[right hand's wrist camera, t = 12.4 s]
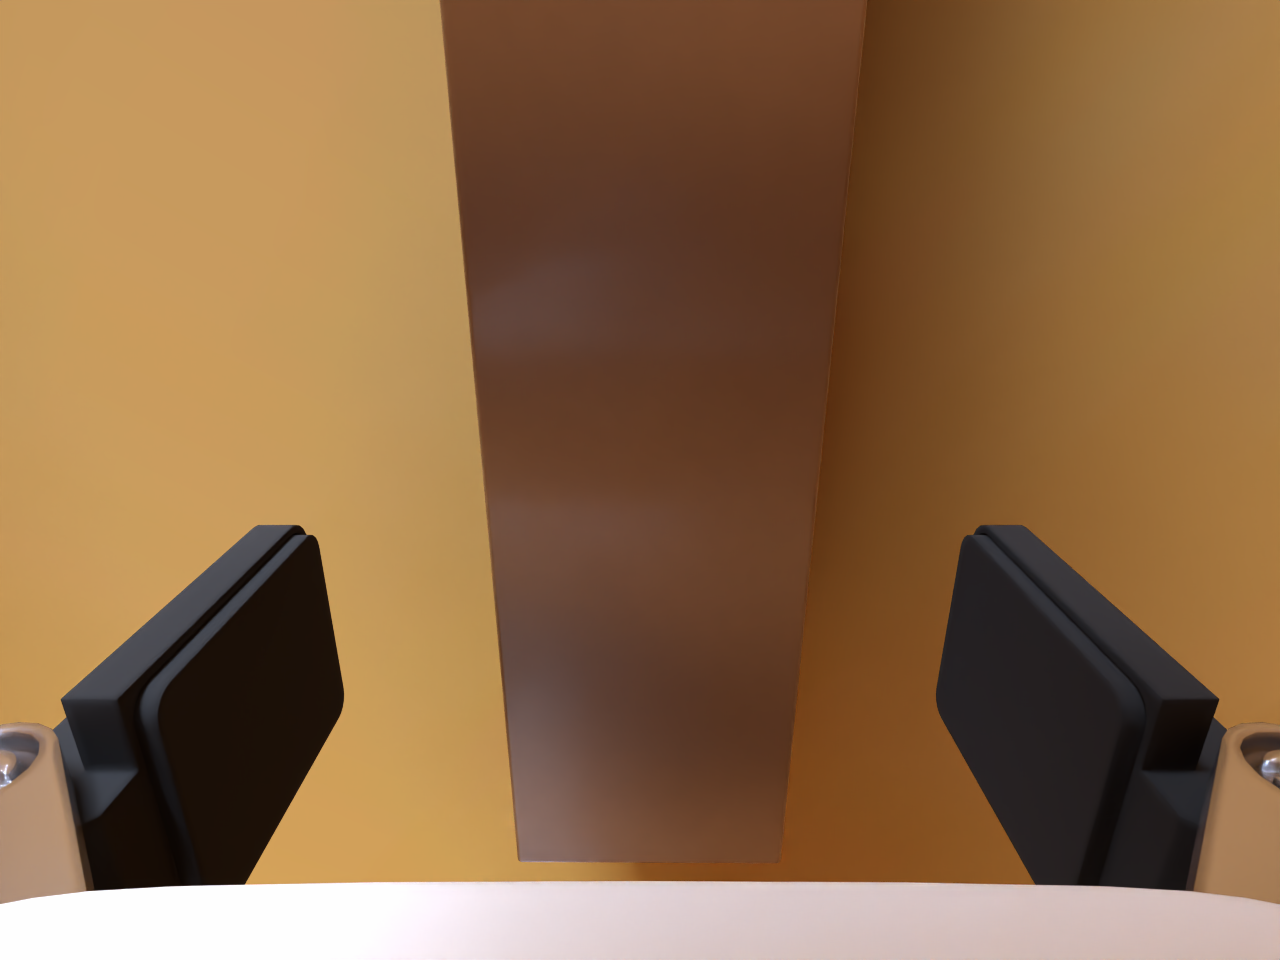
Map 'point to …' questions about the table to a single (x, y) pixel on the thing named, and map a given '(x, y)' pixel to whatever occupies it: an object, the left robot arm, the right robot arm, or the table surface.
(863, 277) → the table surface
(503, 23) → the post
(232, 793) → the right robot arm
